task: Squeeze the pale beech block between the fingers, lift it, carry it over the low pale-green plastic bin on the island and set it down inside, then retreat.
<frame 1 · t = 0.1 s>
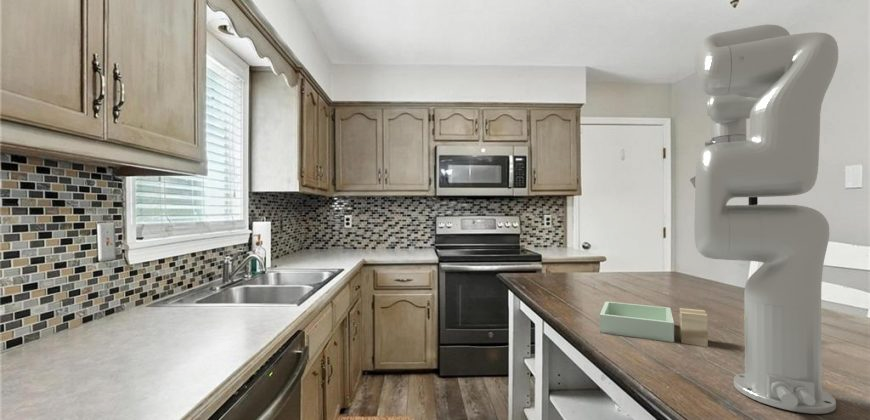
hand: (729, 208, 104), 31 cm above the countertop, fingers open, 9 cm apart
bin: (636, 328, 101), on the countertop
beech block: (693, 341, 91), on the countertop
cupcake: (765, 336, 95), on the countertop
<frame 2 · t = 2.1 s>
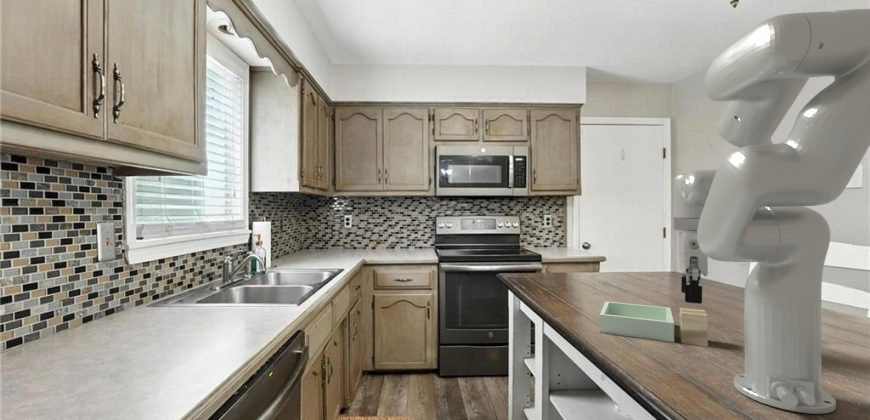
hand: (691, 297, 92), 10 cm above the countertop, fingers open, 9 cm apart
nothing on the countertop moved.
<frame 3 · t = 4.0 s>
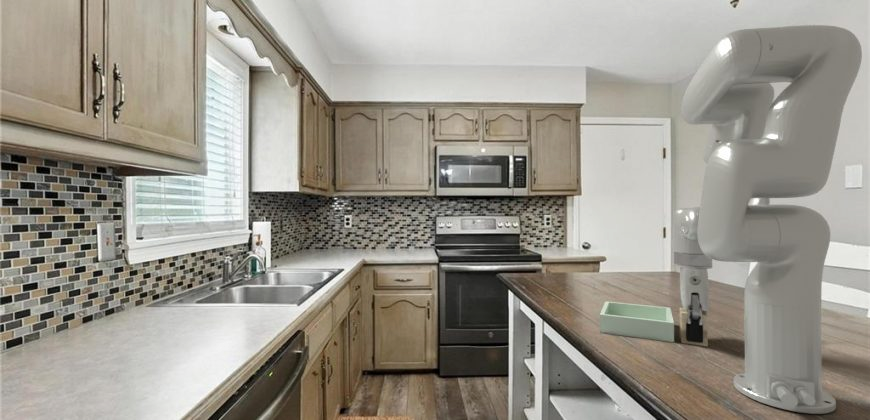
hand: (693, 337, 91), 1 cm above the countertop, fingers closed on beech block, 5 cm apart
beech block: (693, 341, 91), on the countertop, touching gripper
everything else where it was.
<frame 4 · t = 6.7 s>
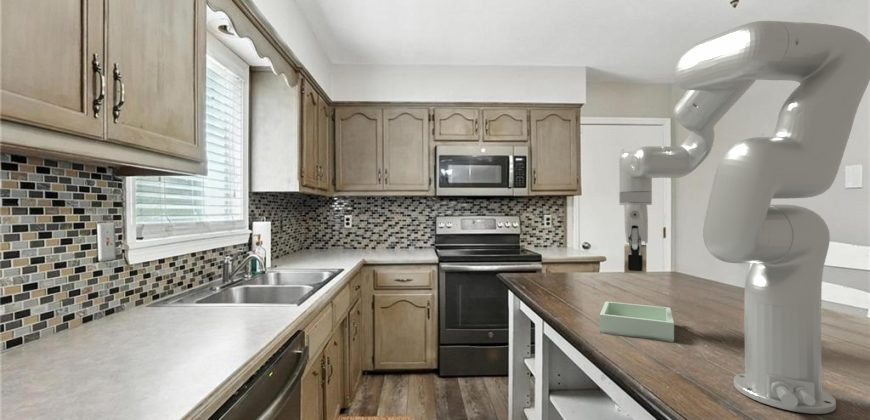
hand: (635, 268, 102), 16 cm above the countertop, fingers closed on beech block, 5 cm apart
beech block: (635, 272, 102), point 15 cm above the countertop, touching gripper
everything else where it was.
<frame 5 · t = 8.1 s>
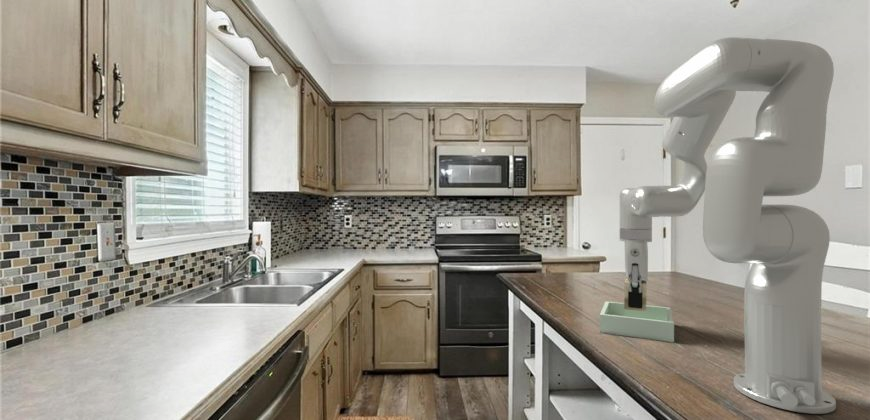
hand: (635, 304, 102), 6 cm above the countertop, fingers closed on beech block, 5 cm apart
beech block: (635, 308, 102), point 5 cm above the countertop, touching gripper
everything else where it was.
when the fingers open (4 cm above the countertop, at t = 9.4 s): beech block drops 2 cm, resting on bin.
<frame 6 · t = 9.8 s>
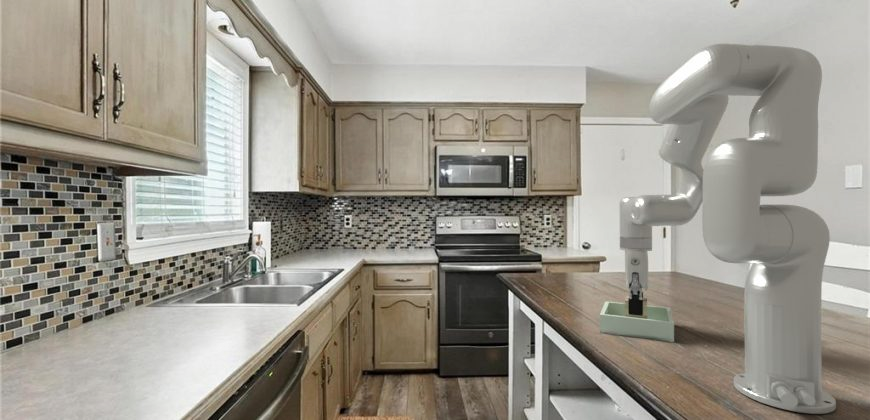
hand: (636, 310, 101), 5 cm above the countertop, fingers open, 8 cm apart
beech block: (636, 326, 101), point 1 cm above the countertop, touching bin
everything else where it was.
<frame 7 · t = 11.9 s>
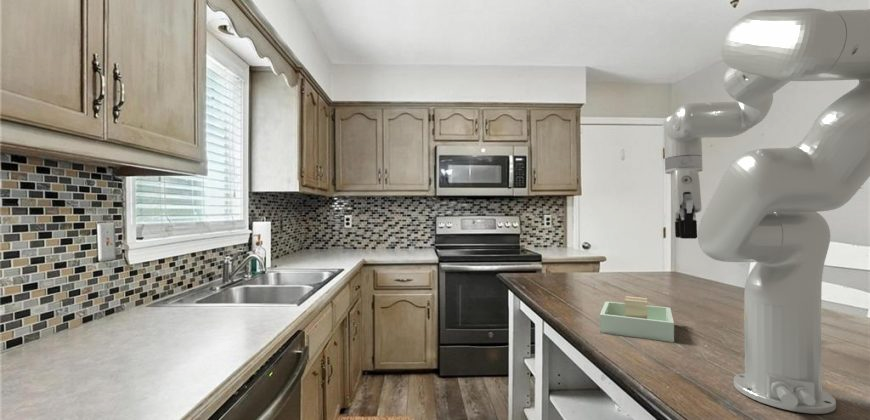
hand: (685, 237, 92), 24 cm above the countertop, fingers open, 9 cm apart
nothing on the countertop moved.
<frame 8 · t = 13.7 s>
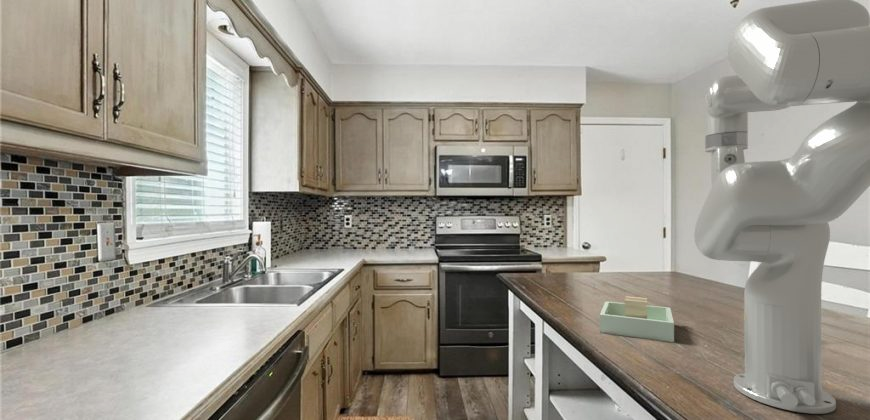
hand: (726, 221, 86), 28 cm above the countertop, fingers open, 9 cm apart
nothing on the countertop moved.
at the end: beech block inside the target area on the bin (0.1 cm from its centre), point 0.6 cm above the bin's base; the gripper is holding nothing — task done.
